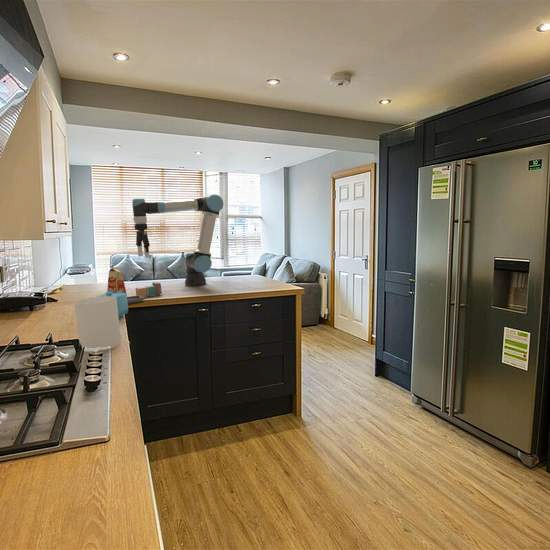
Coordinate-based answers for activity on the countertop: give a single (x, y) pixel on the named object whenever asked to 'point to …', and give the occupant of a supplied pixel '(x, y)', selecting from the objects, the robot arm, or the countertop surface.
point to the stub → (141, 291)
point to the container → (98, 322)
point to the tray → (134, 299)
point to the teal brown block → (154, 289)
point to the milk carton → (115, 281)
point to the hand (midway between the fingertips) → (143, 257)
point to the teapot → (119, 302)
